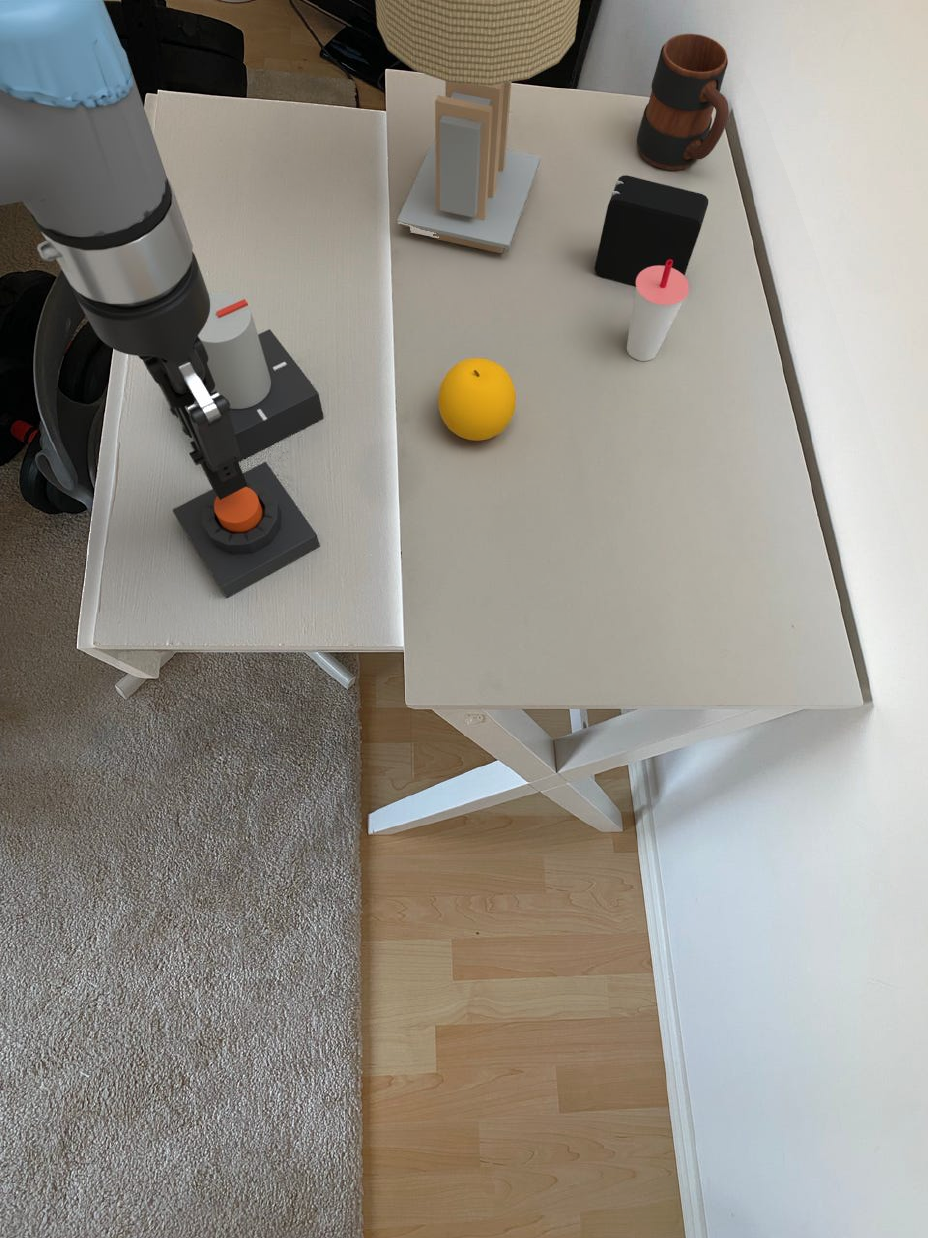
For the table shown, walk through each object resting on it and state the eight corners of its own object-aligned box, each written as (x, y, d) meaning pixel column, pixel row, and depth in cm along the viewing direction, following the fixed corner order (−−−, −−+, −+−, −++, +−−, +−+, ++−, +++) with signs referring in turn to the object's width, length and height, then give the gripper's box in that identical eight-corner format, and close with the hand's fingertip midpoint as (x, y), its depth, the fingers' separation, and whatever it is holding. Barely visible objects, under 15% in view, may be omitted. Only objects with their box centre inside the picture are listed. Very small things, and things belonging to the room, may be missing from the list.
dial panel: (220, 472, 79) (209, 446, 75) (175, 404, 82) (162, 376, 78) (324, 419, 82) (318, 392, 78) (276, 355, 85) (269, 326, 81)
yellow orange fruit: (504, 460, 80) (509, 412, 74) (429, 443, 81) (428, 394, 74) (520, 399, 84) (527, 348, 77) (448, 384, 84) (449, 332, 77)
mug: (674, 197, 97) (703, 102, 86) (622, 139, 101) (643, 41, 91) (731, 176, 99) (766, 80, 88) (677, 120, 103) (704, 22, 92)
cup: (634, 374, 85) (662, 286, 74) (608, 340, 87) (632, 249, 76) (675, 357, 87) (709, 268, 76) (649, 324, 88) (678, 232, 77)
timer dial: (227, 418, 77) (200, 349, 68) (199, 378, 79) (170, 306, 70) (281, 392, 78) (262, 321, 70) (253, 353, 80) (231, 279, 72)
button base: (227, 598, 73) (215, 578, 70) (178, 521, 76) (165, 498, 73) (320, 546, 76) (314, 524, 72) (270, 474, 79) (261, 449, 75)
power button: (231, 540, 72) (226, 530, 70) (211, 508, 73) (205, 498, 71) (270, 519, 73) (266, 509, 71) (249, 488, 74) (245, 478, 72)
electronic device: (676, 297, 90) (703, 221, 81) (592, 275, 91) (609, 197, 82) (684, 272, 92) (711, 195, 83) (601, 250, 93) (619, 172, 84)
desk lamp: (416, 138, 100) (404, -255, 68) (566, 169, 99) (626, -219, 66) (368, 243, 93) (328, -145, 60) (529, 279, 91) (577, -101, 59)
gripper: (29, 225, 48) (157, 455, 70) (119, 363, 44) (226, 562, 66) (142, 180, 50) (233, 417, 72) (238, 308, 46) (304, 519, 68)
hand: (229, 486), depth 69 cm, fingers closed
